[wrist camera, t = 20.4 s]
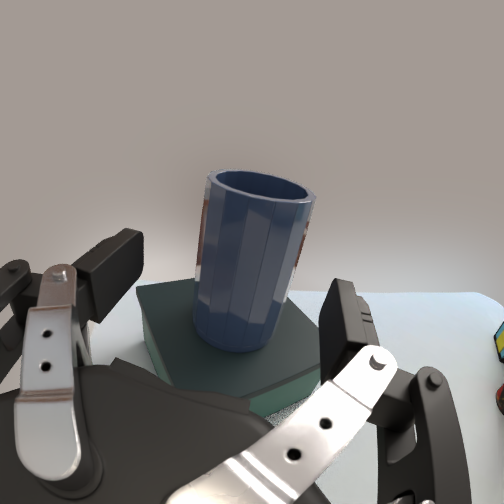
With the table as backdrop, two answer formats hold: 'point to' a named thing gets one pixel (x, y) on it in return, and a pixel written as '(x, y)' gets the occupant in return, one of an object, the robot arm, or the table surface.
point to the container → (229, 363)
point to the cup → (247, 256)
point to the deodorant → (500, 398)
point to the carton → (500, 342)
